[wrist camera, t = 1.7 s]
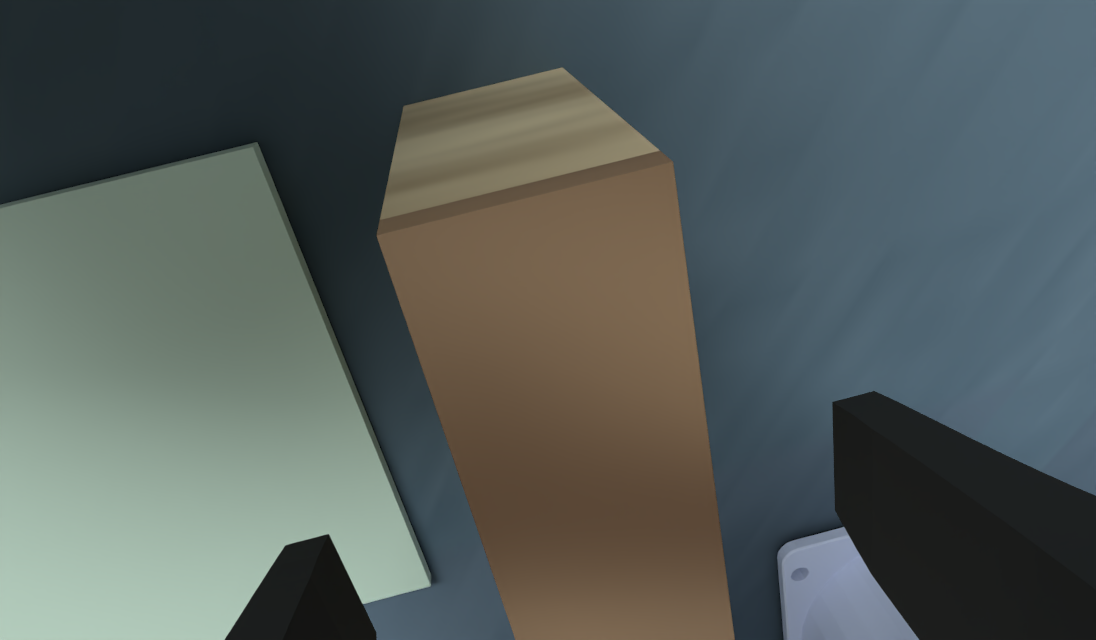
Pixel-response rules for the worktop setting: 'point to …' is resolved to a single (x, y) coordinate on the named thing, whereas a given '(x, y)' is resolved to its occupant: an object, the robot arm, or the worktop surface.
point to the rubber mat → (175, 410)
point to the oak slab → (561, 356)
